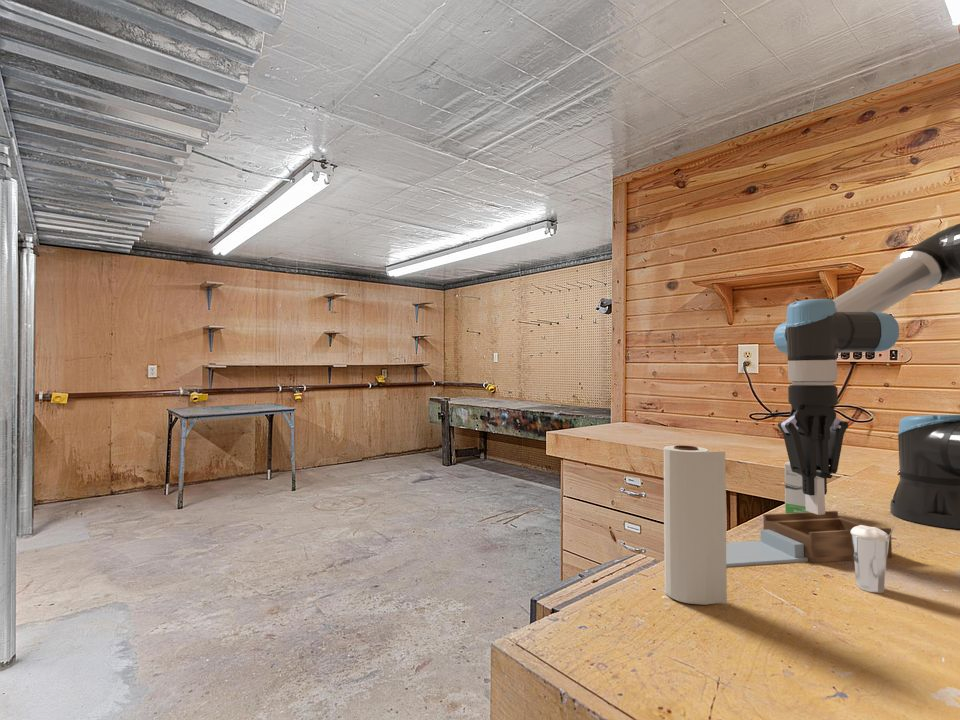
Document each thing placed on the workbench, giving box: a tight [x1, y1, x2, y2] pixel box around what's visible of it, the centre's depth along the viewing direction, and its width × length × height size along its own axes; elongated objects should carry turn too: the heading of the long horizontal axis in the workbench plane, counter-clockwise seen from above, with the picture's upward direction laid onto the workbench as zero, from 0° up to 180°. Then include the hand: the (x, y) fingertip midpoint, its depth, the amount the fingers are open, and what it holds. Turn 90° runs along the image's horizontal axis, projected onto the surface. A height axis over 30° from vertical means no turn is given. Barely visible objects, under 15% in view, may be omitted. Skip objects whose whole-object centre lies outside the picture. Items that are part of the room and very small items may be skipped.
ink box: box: [784, 461, 808, 513], centre depth 111 cm, size 9×5×12 cm, turn 131°
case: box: [762, 510, 893, 564], centre depth 89 cm, size 16×11×5 cm
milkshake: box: [850, 524, 896, 594], centre depth 72 cm, size 4×5×10 cm
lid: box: [726, 529, 809, 568], centre depth 86 cm, size 16×9×3 cm, turn 99°
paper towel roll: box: [663, 444, 728, 606], centre depth 69 cm, size 7×6×21 cm
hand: (815, 512), depth 88 cm, fingers closed
